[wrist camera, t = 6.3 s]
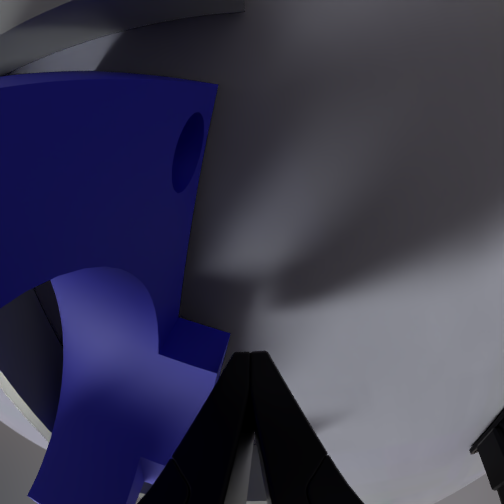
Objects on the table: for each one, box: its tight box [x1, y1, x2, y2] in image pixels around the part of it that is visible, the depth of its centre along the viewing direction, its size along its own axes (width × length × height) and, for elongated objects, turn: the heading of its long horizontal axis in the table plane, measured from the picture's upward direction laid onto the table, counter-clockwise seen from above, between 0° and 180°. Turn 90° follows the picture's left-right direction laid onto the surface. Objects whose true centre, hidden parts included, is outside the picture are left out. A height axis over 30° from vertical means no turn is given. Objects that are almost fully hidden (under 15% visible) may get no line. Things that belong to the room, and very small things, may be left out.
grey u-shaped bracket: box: [0, 0, 267, 504], centre depth 8 cm, size 8×18×3 cm, turn 4°
